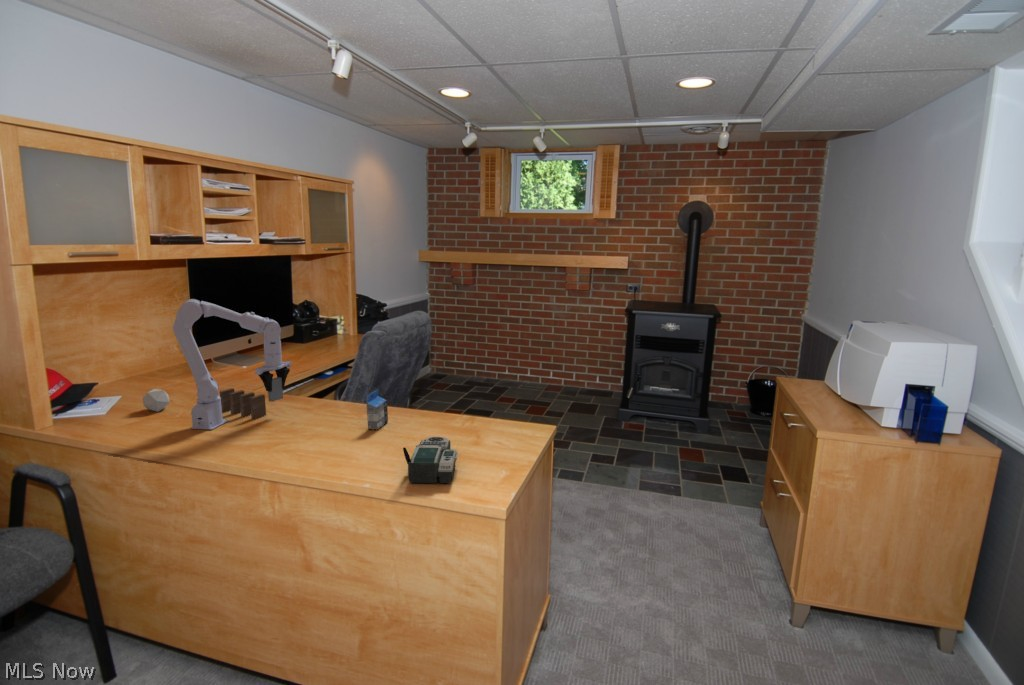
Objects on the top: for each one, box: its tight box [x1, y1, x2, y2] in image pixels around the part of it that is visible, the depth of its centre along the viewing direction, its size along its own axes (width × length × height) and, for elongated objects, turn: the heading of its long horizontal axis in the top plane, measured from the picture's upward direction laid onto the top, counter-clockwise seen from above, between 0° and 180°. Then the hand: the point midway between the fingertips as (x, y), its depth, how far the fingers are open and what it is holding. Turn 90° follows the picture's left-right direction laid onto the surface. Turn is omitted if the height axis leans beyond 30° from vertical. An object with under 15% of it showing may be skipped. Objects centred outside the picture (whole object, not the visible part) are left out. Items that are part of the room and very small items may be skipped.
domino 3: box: [240, 391, 256, 418], centre depth 197 cm, size 2×5×8 cm, turn 155°
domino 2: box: [229, 389, 245, 415], centre depth 199 cm, size 2×5×8 cm, turn 155°
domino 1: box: [218, 387, 235, 413], centre depth 201 cm, size 2×5×8 cm, turn 155°
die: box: [142, 388, 171, 412], centre depth 200 cm, size 8×9×10 cm
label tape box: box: [365, 389, 389, 430], centre depth 187 cm, size 9×4×12 cm, turn 168°
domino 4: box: [250, 394, 267, 420], centre depth 195 cm, size 2×5×8 cm, turn 155°
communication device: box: [402, 436, 459, 484], centre depth 157 cm, size 14×28×10 cm, turn 1°
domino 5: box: [267, 376, 284, 403], centre depth 195 cm, size 2×5×8 cm, turn 155°
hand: (275, 389), depth 195 cm, fingers closed on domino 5, 5 cm apart
